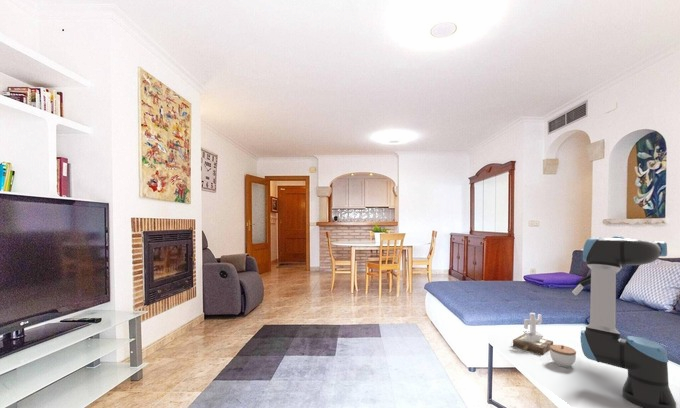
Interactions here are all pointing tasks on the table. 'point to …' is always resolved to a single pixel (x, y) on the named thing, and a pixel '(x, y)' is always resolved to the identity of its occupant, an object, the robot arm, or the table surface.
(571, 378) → the table surface
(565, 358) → the lidded jar
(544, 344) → the wooden box
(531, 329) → the figurine
